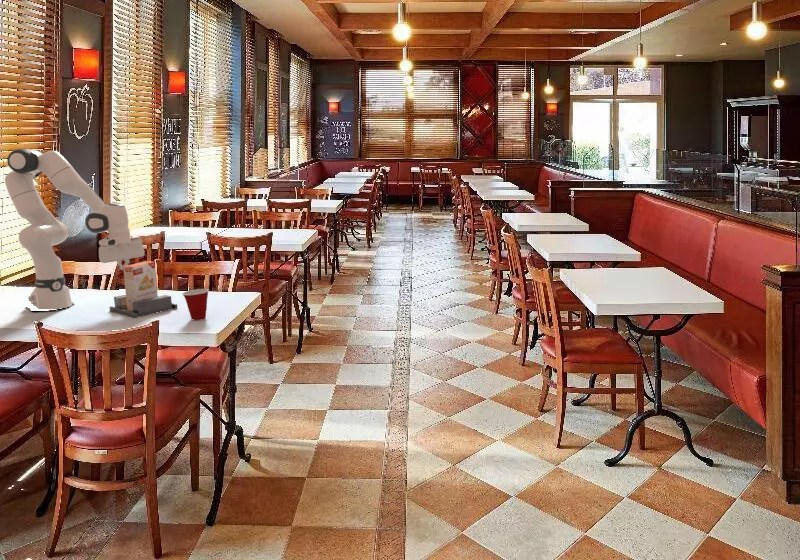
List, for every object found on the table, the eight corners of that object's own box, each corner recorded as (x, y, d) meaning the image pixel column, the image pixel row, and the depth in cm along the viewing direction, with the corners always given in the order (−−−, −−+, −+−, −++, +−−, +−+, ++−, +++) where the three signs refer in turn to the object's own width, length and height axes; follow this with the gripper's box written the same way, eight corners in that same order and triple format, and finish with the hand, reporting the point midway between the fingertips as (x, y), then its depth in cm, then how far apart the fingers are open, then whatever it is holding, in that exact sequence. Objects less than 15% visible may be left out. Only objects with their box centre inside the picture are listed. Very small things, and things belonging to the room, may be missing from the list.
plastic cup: (193, 314, 308) (191, 287, 306) (216, 315, 305) (213, 288, 303) (179, 321, 298) (176, 293, 296) (202, 322, 295) (199, 293, 293)
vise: (109, 311, 319) (108, 298, 318) (150, 302, 334) (149, 289, 333) (136, 318, 305) (134, 304, 304) (177, 308, 320) (176, 295, 319)
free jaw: (115, 310, 320) (113, 297, 319) (147, 303, 332) (146, 290, 331) (121, 311, 317) (119, 298, 316) (153, 304, 329) (152, 291, 328)
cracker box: (138, 314, 312) (132, 266, 308) (127, 313, 314) (121, 266, 310) (159, 306, 325) (155, 261, 321) (149, 306, 327) (144, 260, 323)
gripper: (137, 235, 332) (141, 265, 335) (95, 242, 317) (99, 272, 320) (145, 236, 328) (148, 266, 331) (102, 242, 313) (106, 274, 316)
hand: (124, 269), depth 325 cm, fingers closed
